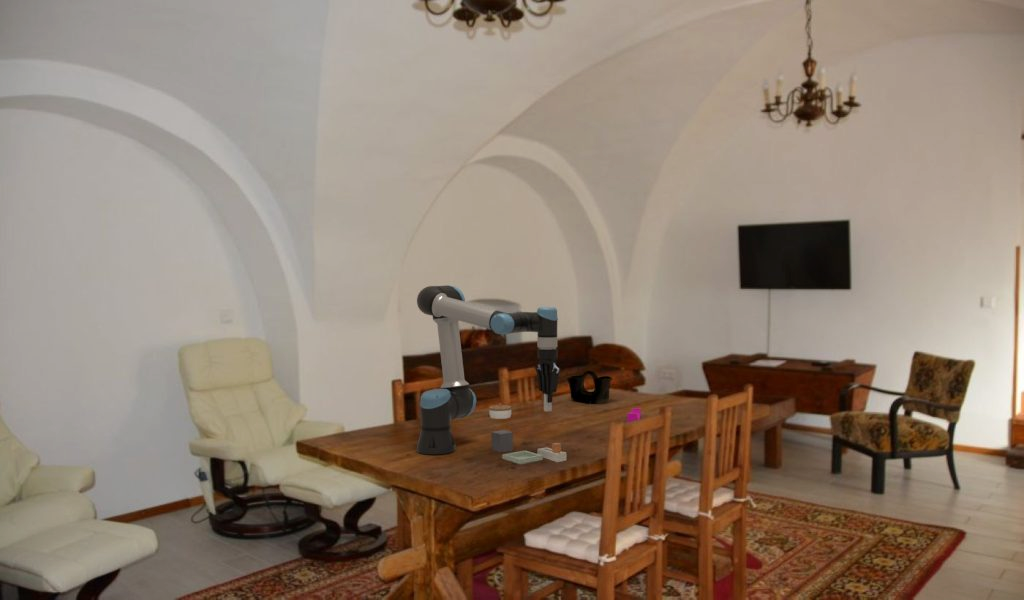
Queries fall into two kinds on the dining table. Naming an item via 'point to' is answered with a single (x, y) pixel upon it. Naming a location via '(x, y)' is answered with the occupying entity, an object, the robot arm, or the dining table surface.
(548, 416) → the dining table surface
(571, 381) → the black handbag
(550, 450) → the breaker housing
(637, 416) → the toy block
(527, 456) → the tray
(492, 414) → the lidded jar
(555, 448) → the breaker switch
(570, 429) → the dining table surface
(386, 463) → the dining table surface
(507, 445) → the grey rectangular block
